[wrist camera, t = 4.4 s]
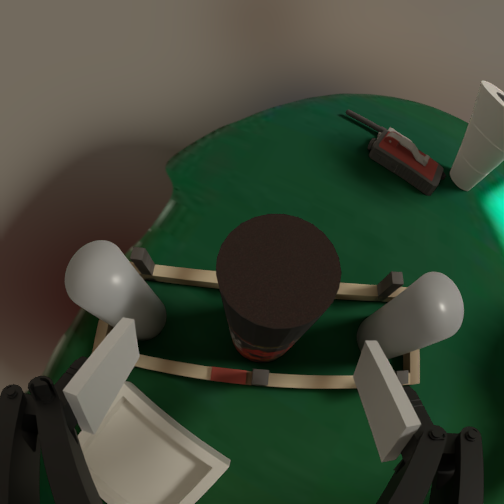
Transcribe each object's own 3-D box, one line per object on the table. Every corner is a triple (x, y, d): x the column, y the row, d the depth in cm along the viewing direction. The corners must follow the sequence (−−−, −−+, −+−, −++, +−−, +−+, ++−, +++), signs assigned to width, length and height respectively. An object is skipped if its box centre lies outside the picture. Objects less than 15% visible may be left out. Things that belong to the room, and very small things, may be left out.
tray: (131, 382, 24) (121, 380, 22) (230, 459, 21) (229, 466, 18) (73, 454, 19) (61, 457, 17) (161, 530, 16) (155, 539, 14)
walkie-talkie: (443, 175, 39) (346, 114, 44) (455, 157, 35) (352, 95, 40) (434, 204, 35) (324, 135, 41) (448, 186, 31) (329, 113, 37)
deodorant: (218, 338, 26) (189, 277, 13) (255, 291, 28) (264, 195, 15) (269, 374, 25) (297, 355, 11) (304, 325, 27) (360, 255, 14)
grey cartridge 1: (142, 284, 28) (97, 228, 19) (176, 313, 27) (139, 265, 17) (112, 319, 27) (54, 277, 17) (145, 350, 25) (91, 322, 16)
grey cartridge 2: (369, 306, 28) (423, 259, 18) (405, 329, 27) (469, 293, 17) (348, 346, 26) (402, 316, 16) (386, 369, 25) (453, 350, 15)
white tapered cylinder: (427, 153, 40) (469, 72, 24) (467, 162, 40) (509, 94, 25) (450, 201, 35) (510, 117, 19) (489, 207, 35) (545, 138, 20)
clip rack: (408, 292, 28) (431, 274, 24) (412, 384, 24) (439, 380, 19) (120, 265, 29) (102, 243, 25) (98, 356, 25) (73, 348, 20)
